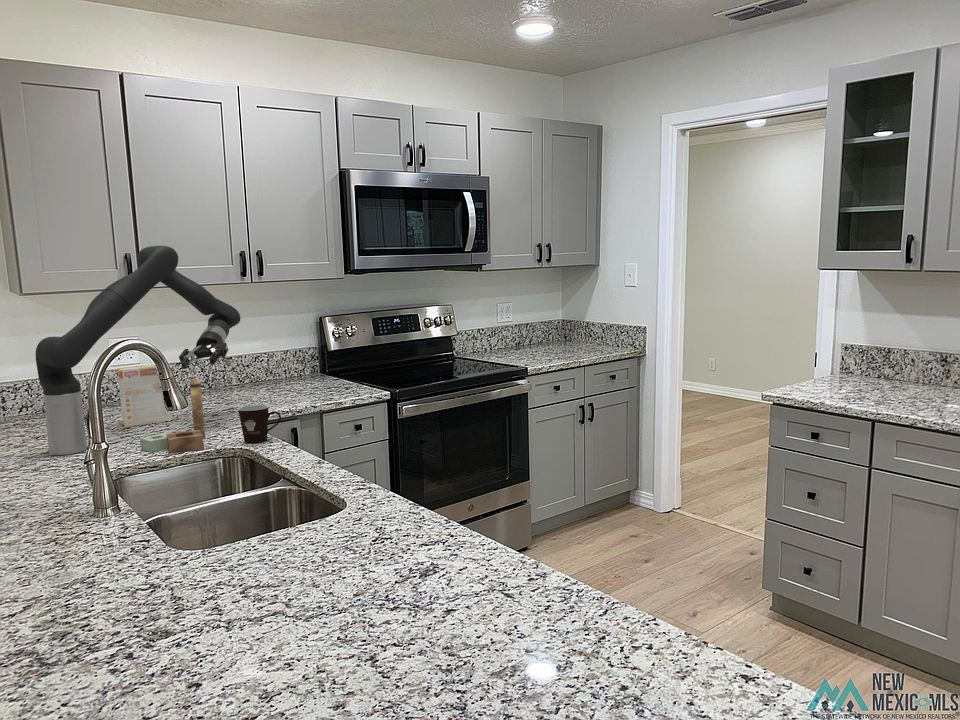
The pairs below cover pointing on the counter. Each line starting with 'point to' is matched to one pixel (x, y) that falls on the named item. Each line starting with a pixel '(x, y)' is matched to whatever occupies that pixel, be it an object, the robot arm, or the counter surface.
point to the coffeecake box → (141, 396)
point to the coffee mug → (255, 423)
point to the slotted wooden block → (185, 441)
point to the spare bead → (154, 443)
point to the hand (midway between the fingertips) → (197, 364)
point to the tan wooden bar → (197, 405)
